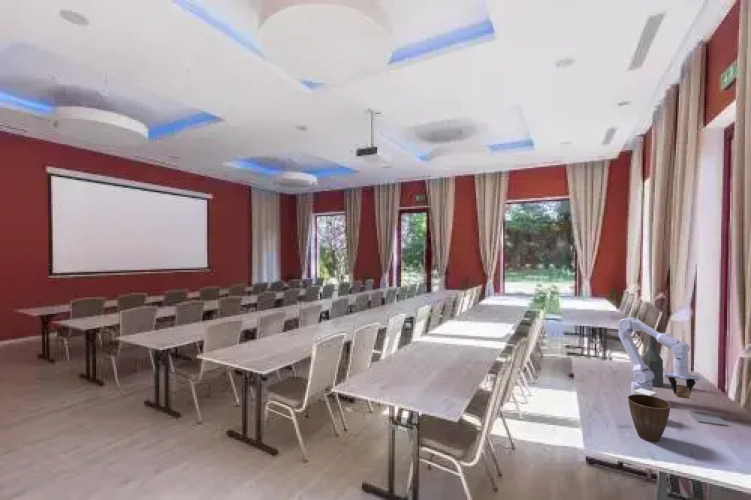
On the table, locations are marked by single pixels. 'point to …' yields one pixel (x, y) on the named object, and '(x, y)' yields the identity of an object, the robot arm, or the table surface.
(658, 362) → the bottle
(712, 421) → the slate mat
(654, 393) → the supplement box
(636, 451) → the table surface
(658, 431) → the plant pot
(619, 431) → the table surface
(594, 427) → the table surface
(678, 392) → the walnut block
